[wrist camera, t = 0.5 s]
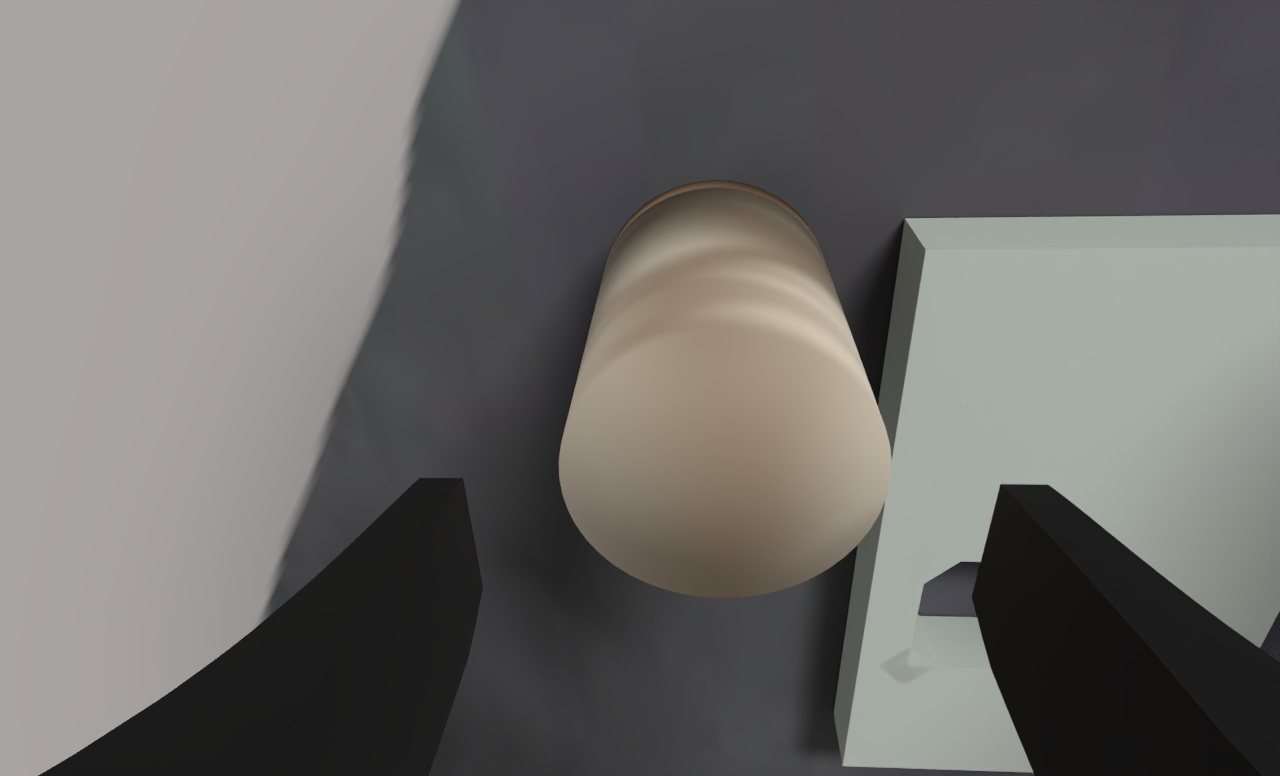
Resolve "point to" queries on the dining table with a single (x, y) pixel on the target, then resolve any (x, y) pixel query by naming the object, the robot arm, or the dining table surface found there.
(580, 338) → the dining table surface
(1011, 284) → the board
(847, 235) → the dining table surface
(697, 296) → the peg
